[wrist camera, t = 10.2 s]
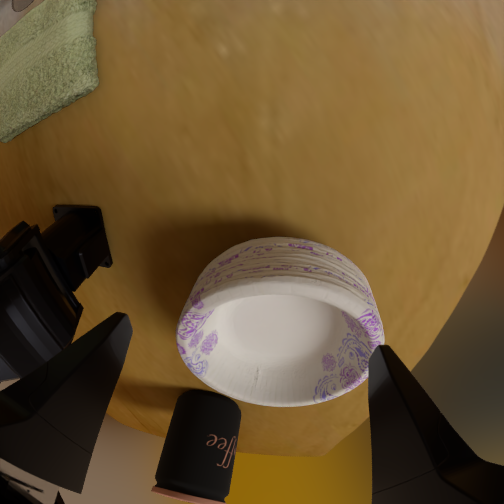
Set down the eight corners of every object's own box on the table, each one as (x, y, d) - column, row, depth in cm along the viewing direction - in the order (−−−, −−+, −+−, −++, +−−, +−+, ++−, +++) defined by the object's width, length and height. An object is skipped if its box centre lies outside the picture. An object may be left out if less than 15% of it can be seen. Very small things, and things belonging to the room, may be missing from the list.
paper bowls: (175, 234, 22) (134, 297, 16) (362, 202, 19) (397, 263, 12) (228, 349, 30) (215, 409, 23) (363, 335, 27) (375, 398, 20)
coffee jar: (247, 417, 41) (233, 510, 26) (190, 412, 43) (168, 497, 28) (235, 390, 35) (215, 506, 20) (169, 384, 37) (137, 486, 22)
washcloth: (-4, 50, 12) (-24, 54, 9) (107, -28, 10) (85, -37, 7) (3, 146, 19) (-17, 155, 16) (110, 97, 17) (85, 101, 14)
